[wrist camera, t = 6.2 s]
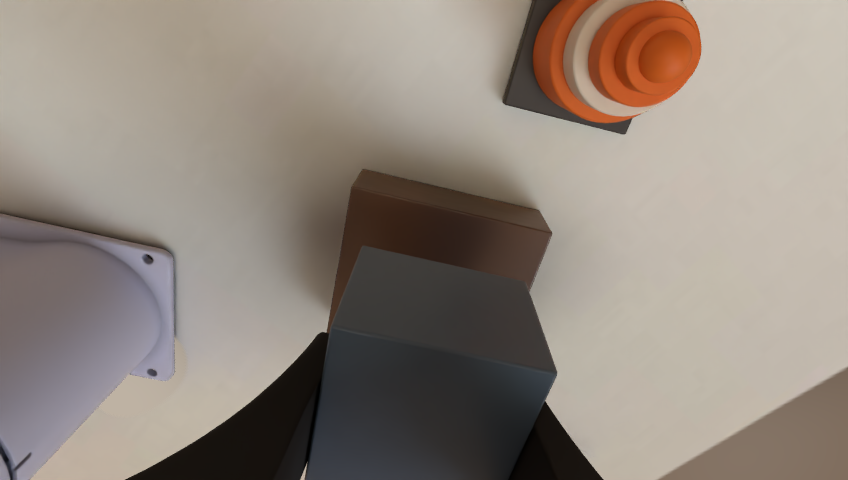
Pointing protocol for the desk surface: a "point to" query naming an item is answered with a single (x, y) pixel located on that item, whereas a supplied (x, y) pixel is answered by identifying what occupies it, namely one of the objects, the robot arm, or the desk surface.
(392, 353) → the blue block
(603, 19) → the cone
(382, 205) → the base block
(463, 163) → the desk surface
